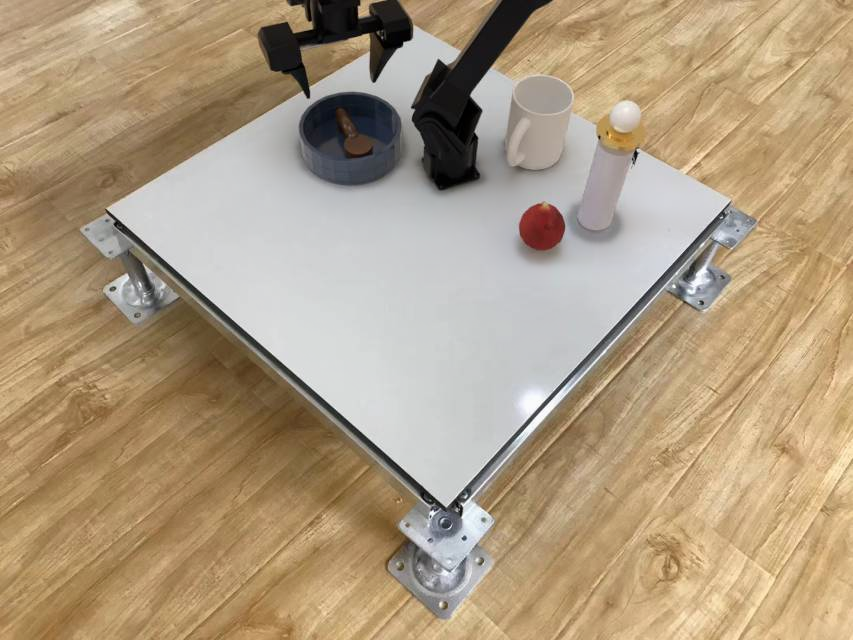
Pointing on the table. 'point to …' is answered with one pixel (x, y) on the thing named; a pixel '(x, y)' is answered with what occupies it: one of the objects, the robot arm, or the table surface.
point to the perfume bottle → (611, 163)
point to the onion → (542, 226)
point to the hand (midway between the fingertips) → (340, 88)
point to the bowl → (327, 142)
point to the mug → (538, 121)
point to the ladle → (353, 137)
